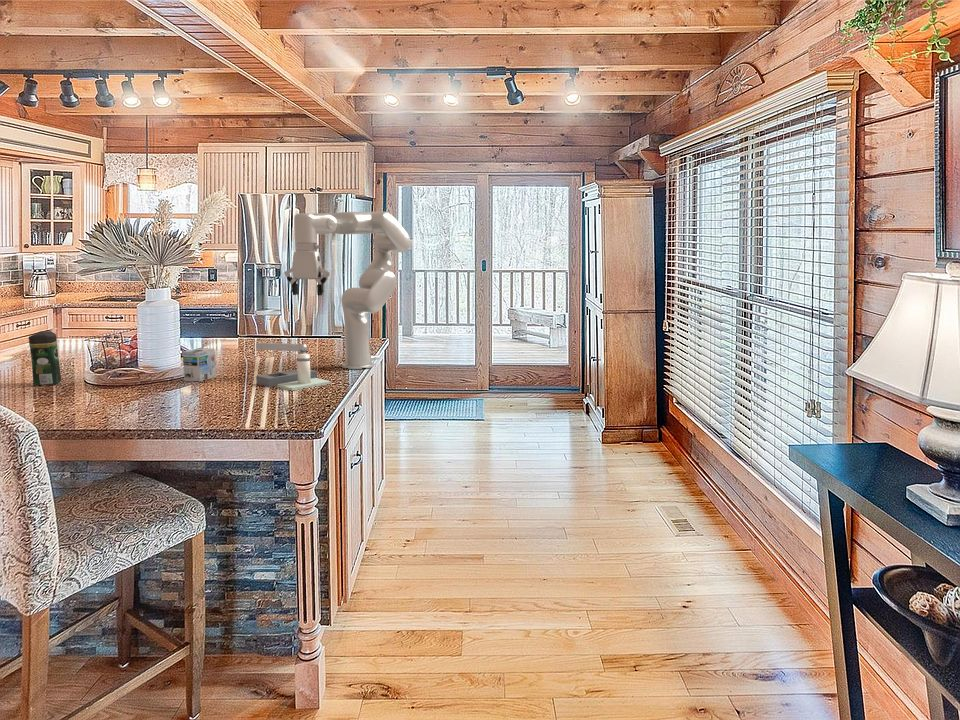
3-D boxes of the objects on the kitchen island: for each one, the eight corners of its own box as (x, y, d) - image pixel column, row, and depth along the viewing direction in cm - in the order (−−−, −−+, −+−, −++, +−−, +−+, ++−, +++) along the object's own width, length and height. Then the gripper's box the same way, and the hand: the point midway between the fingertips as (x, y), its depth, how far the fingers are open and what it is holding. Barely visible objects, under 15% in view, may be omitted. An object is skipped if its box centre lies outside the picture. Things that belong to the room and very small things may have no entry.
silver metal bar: (308, 350, 263) (307, 344, 263) (304, 351, 261) (304, 345, 260) (259, 348, 267) (259, 342, 267) (255, 349, 264) (255, 343, 264)
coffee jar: (38, 382, 256) (33, 330, 252) (63, 380, 258) (58, 329, 255) (30, 387, 246) (24, 333, 243) (56, 386, 249) (51, 333, 245)
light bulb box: (200, 382, 257) (198, 352, 255) (183, 381, 258) (181, 351, 256) (217, 376, 267) (215, 348, 265) (200, 375, 268) (198, 347, 267)
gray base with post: (304, 376, 269) (303, 349, 267) (317, 379, 264) (316, 351, 262) (256, 384, 254) (255, 355, 252) (269, 387, 249) (267, 358, 247)
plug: (305, 380, 255) (304, 353, 253) (313, 382, 252) (312, 354, 250) (295, 382, 252) (293, 354, 250) (302, 384, 249) (301, 356, 247)
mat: (315, 380, 261) (315, 377, 261) (331, 384, 255) (330, 381, 255) (277, 387, 249) (277, 384, 249) (292, 391, 243) (292, 388, 243)
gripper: (332, 248, 263) (333, 294, 266) (288, 247, 267) (290, 293, 270) (324, 248, 256) (325, 296, 259) (279, 247, 260) (281, 295, 263)
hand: (307, 295), depth 264 cm, fingers open, 9 cm apart
